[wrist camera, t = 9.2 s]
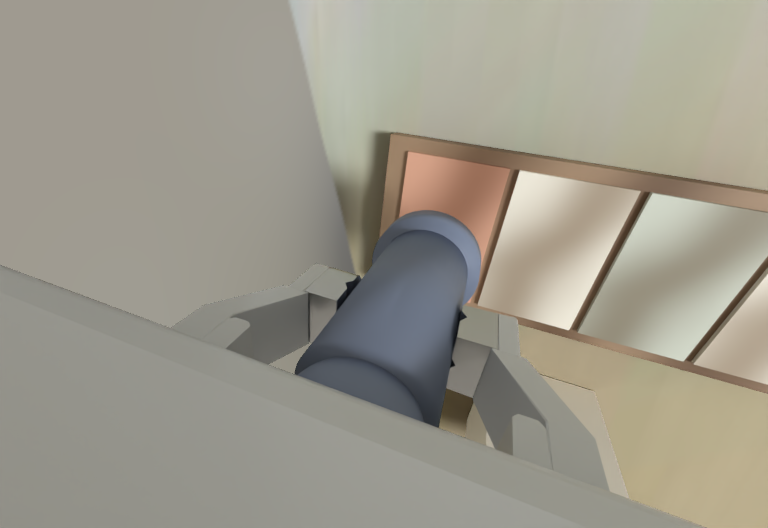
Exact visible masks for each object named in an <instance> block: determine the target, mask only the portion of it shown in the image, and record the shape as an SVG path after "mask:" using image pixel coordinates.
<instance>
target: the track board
mask: <svg viewBox="0 0 768 528" xmlns="http://www.w3.org/2000/svg"><path fill="white" fill-rule="evenodd" d="M419 210H434V211H439V212H443V213H446V214H449V215H451V216H453V217H455V218H456V219H458V220H459V221H461V222H462V223H463V224H464V225H466V226H467V227H468V229H469V230H470V231H471V232H472V234H473V235H474V236H475V238H476V240H477V242H478V245H479V248H480V252H481V268H480V276H479V282H478V286H477V288H476V291H475V293H474V294H473V296H472V297H471V299H470V300H469V301H468V302H467V303H466V304H464V305H466V306H470V307H474V308H478V309H482V310H486V311H490V312H494V313H498V314H503V315H507V316H511V317H515V318H516V319H517V320H518V324H519V325H523V326H527V327H530V328H534V329H537V330H541V331H545V332H548V333H552V334H555V335H559V336H562V337H566V338H570V339H573V340H577V341H580V342H584V343H588V344H591V345H595V346H598V347H602V348H606V349H609V350H613V351H616V352H620V353H624V354H627V355H631V356H634V357H638V358H642V359H645V360H649V361H652V362H656V363H659V364H663V365H667V366H670V367H674V368H677V369H681V370H685V371H688V372H692V373H695V374H699V375H703V376H706V377H710V378H713V379H717V380H721V381H724V382H728V383H731V384H735V385H738V386H742V387H746V388H749V389H753V390H756V391H760V392H764V393H767V394H768V191H765V190H758V189H752V188H745V187H739V186H733V185H726V184H720V183H714V182H707V181H701V180H695V179H688V178H682V177H676V176H669V175H663V174H657V173H650V172H644V171H638V170H631V169H625V168H618V167H612V166H606V165H599V164H593V163H587V162H580V161H574V160H568V159H561V158H555V157H549V156H542V155H536V154H530V153H523V152H517V151H510V150H504V149H498V148H491V147H485V146H479V145H472V144H466V143H460V142H453V141H447V140H441V139H434V138H428V137H422V136H415V135H409V134H403V133H393V134H391V136H390V145H389V154H388V163H387V172H386V181H385V190H384V199H383V208H382V217H381V226H380V235H379V238H380V237H381V236H382V235H383V233H384V232H385V231H386V230H387V229H388V228H389V227H390V225H391V224H392V223H394V222H395V221H396V220H397V219H398V218H400V217H401V216H403V215H405V214H408V213H411V212H414V211H419Z"/></svg>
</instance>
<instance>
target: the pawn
mask: <svg viewBox="0 0 768 528" xmlns="http://www.w3.org/2000/svg"><path fill="white" fill-rule="evenodd" d="M480 268H481V252H480V248H479V245H478V242H477V240H476V238H475V236H474V235H473V234H472V232H471V231H470V230H469V229H468V227H467V226H466V225H464V224H463V223H462V222H461V221H459V220H458V219H456V218H455V217H453V216H451V215H449V214H446V213H443V212H439V211H434V210H419V211H414V212H411V213H408V214H405V215H403V216H401V217H400V218H398V219H397V220H396V221H395V222H394V223H392V224H391V225H390V227H389V228H388V229H387V230H386V231H385V232H384V233H383V235H382V236H381V237H380V238H379V240H378V242H377V244H376V246H375V249H374V252H373V259H372V266H371V268H370V269H369V270H368V272H367V273H366V274H365V276H364V277H363V278H362V279H361V281H360V282H359V283H358V285H357V286H356V287H355V288H354V290H353V291H352V292H351V294H350V295H349V296H348V297H347V299H346V300H345V301H344V303H343V304H342V305H341V306H340V308H339V309H338V310H337V312H336V313H335V314H334V315H333V317H332V318H331V319H330V321H329V322H328V323H327V325H326V326H325V327H324V328H323V330H322V331H321V332H320V334H319V335H318V336H317V337H316V339H315V340H314V341H313V343H312V344H311V345H310V346H309V348H308V349H307V350H306V352H305V353H304V354H303V355H302V357H301V358H300V360H299V361H298V363H297V366H296V369H295V375H298V376H301V377H303V378H306V379H309V380H311V381H314V382H317V383H319V384H322V385H325V386H328V387H330V388H333V389H336V390H338V391H341V392H344V393H346V394H349V395H352V396H354V397H357V398H360V399H362V400H365V401H368V402H370V403H373V404H376V405H378V406H381V407H384V408H387V409H389V410H392V411H395V412H397V413H400V414H403V415H405V416H408V417H411V418H413V419H416V420H419V421H421V422H424V423H427V424H429V425H432V426H435V427H438V428H439V423H440V417H441V412H442V407H443V402H444V397H445V392H446V386H447V381H448V376H449V371H450V366H451V361H452V352H453V347H454V342H455V337H456V333H457V328H458V321H459V316H460V311H461V308H462V305H464V304H466V303H467V302H468V301H469V300H470V299H471V297H472V296H473V294H474V293H475V291H476V288H477V286H478V282H479V276H480Z"/></svg>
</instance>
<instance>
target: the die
mask: <svg viewBox="0 0 768 528" xmlns="http://www.w3.org/2000/svg"><path fill="white" fill-rule="evenodd" d="M541 376H542V378H543V379H544V380H545V381H546V382H547V383H548V384H549V386H550V387H551V388H552V389H553V390H554V391H555V393H556V394H557V395H558V396H559V397H560V398H561V400H562V401H563V402H564V403H565V404H566V405H567V407H568V408H569V409H570V410H571V411H572V412H573V414H574V415H575V416H576V417H577V418H578V419H579V421H580V422H581V423H582V424H583V425H584V426H585V427H586V429H587V430H588V431H589V432H590V433H591V434H592V436H593V437H594V438H595V440H596V443H597V447H598V450H599V454H600V458H601V461H602V465H603V468H604V472H605V476H606V479H607V483H608V486H609V490H610V492H612V493H615V494H618V495H620V496H623V497H626V498H628V499H629V496H628V493H627V490H626V487H625V484H624V481H623V477H622V474H621V471H620V468H619V465H618V462H617V459H616V456H615V453H614V450H613V447H612V444H611V440H610V437H609V434H608V431H607V428H606V425H605V422H604V419H603V416H602V413H601V410H600V406H599V403H598V400H597V397H596V394H595V391H592V390H588V389H585V388H582V387H579V386H576V385H572V384H569V383H566V382H563V381H559V380H556V379H553V378H550V377H546V376H543V375H541ZM465 438H467V439H470V440H472V441H475V442H478V443H481V444H483V445H486V446H489V447H491V448H494V446H493V443H492V441H491V439H490V437H489V435H488V432H487V430H486V428H485V426H484V424H483V421H482V419H481V417H480V415H479V413H478V410H477V408H476V406H475V404H474V403H473V405H472V408H471V410H470V413H469V416H468V418H467V426H466V435H465ZM494 449H495V448H494Z"/></svg>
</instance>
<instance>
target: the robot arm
mask: <svg viewBox="0 0 768 528" xmlns="http://www.w3.org/2000/svg"><path fill="white" fill-rule="evenodd" d="M360 281H361V278H360V276H359V275H356V274H353V273H349V272H346V271H342V270H339V269H336V268H332V267H329V266H326V265H322V264H314V265H312V266H311V267H310V268H309V269H308V270H307V271H306V272H304V273H303V274H302V275H301V276H300V277H298V278H297V279H296V280H295V281H294V282H293V283H292V284H290V285H289V286H284V285H283V286H279V287H275V288H271V289H267V290H262V291H259V292H255V293H250V294H247V295H243V296H238V297H234V298H230V299H226V300H222V301H218V302H214V303H210V304H206V305H203V306H202V307H200V308H199V309H197V310H196V311H194V312H193V313H191V314H190V315H188V316H187V317H186V318H184V319H183V320H181V321H180V322H178V323H177V324H175V325H174V326H172V327H171V328H169V327H166V326H163V325H161V324H158V323H155V322H153V321H150V320H147V319H144V318H142V317H139V316H137V315H134V314H131V313H128V312H126V311H123V310H120V309H118V308H115V307H112V306H110V305H107V304H104V303H101V302H99V301H96V300H94V299H91V298H88V297H85V296H83V295H80V294H77V293H75V292H72V291H69V290H66V289H64V288H61V287H58V286H56V285H53V284H50V283H47V282H45V281H42V280H40V279H37V278H34V277H32V276H29V275H26V274H24V273H21V272H18V271H15V270H13V269H10V268H7V267H5V266H2V265H0V528H706V527H704V526H701V525H698V524H696V523H693V522H690V521H688V520H685V519H682V518H680V517H677V516H674V515H671V514H669V513H666V512H663V511H661V510H658V509H655V508H653V507H650V506H647V505H645V504H642V503H639V502H636V501H634V500H631V499H628V498H626V497H623V496H620V495H618V494H615V493H612V492H610V490H609V486H608V483H607V479H606V476H605V472H604V468H603V465H602V461H601V458H600V454H599V450H598V447H597V443H596V440H595V438H594V437H593V436H592V434H591V433H590V432H589V431H588V430H587V429H586V427H585V426H584V425H583V424H582V423H581V422H580V421H579V419H578V418H577V417H576V416H575V415H574V414H573V412H572V411H571V410H570V409H569V408H568V407H567V405H566V404H565V403H564V402H563V401H562V400H561V398H560V397H559V396H558V395H557V394H556V393H555V391H554V390H553V389H552V388H551V387H550V386H549V384H548V383H547V382H546V381H545V380H544V379H543V378H542V376H541V375H540V374H539V373H538V372H537V371H536V369H535V368H534V367H533V366H532V365H531V364H530V362H529V361H528V360H527V359H526V358H523V357H520V345H519V332H518V320H517V319H516V318H515V317H511V316H507V315H503V314H498V313H494V312H490V311H486V310H482V309H478V308H474V307H470V306H466V305H462V308H461V311H460V316H459V321H458V328H457V333H456V337H455V342H454V347H453V352H452V361H451V366H450V371H449V376H448V381H447V386H446V388H447V389H450V390H452V391H455V392H458V393H460V394H463V395H466V396H468V397H471V398H473V402H474V404H475V406H476V408H477V410H478V413H479V415H480V417H481V419H482V421H483V424H484V426H485V428H486V430H487V432H488V435H489V437H490V439H491V441H492V443H493V446H494V448H495V449H494V448H491V447H489V446H486V445H483V444H481V443H478V442H475V441H472V440H470V439H467V438H464V437H462V436H459V435H456V434H454V433H451V432H448V431H446V430H443V429H440V428H438V427H435V426H432V425H429V424H427V423H424V422H421V421H419V420H416V419H413V418H411V417H408V416H405V415H403V414H400V413H397V412H395V411H392V410H389V409H387V408H384V407H381V406H378V405H376V404H373V403H370V402H368V401H365V400H362V399H360V398H357V397H354V396H352V395H349V394H346V393H344V392H341V391H338V390H336V389H333V388H330V387H328V386H325V385H322V384H319V383H317V382H314V381H311V380H309V379H306V378H303V377H301V376H298V375H295V374H293V373H290V372H287V371H284V370H282V369H279V368H276V367H274V366H271V365H268V364H270V363H272V362H274V361H276V360H278V359H280V358H282V357H284V356H286V355H288V354H289V353H291V352H293V351H295V350H297V349H299V348H301V347H303V346H305V345H307V344H309V342H310V343H313V341H314V340H315V339H316V337H317V336H318V335H319V334H320V332H321V331H322V330H323V328H324V327H325V326H326V325H327V323H328V322H329V321H330V319H331V318H332V317H333V315H334V314H335V313H336V312H337V310H338V309H339V308H340V306H341V305H342V304H343V303H344V301H345V300H346V299H347V297H348V296H349V295H350V294H351V292H352V291H353V290H354V288H355V287H356V286H357V285H358V283H359V282H360Z"/></svg>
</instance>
